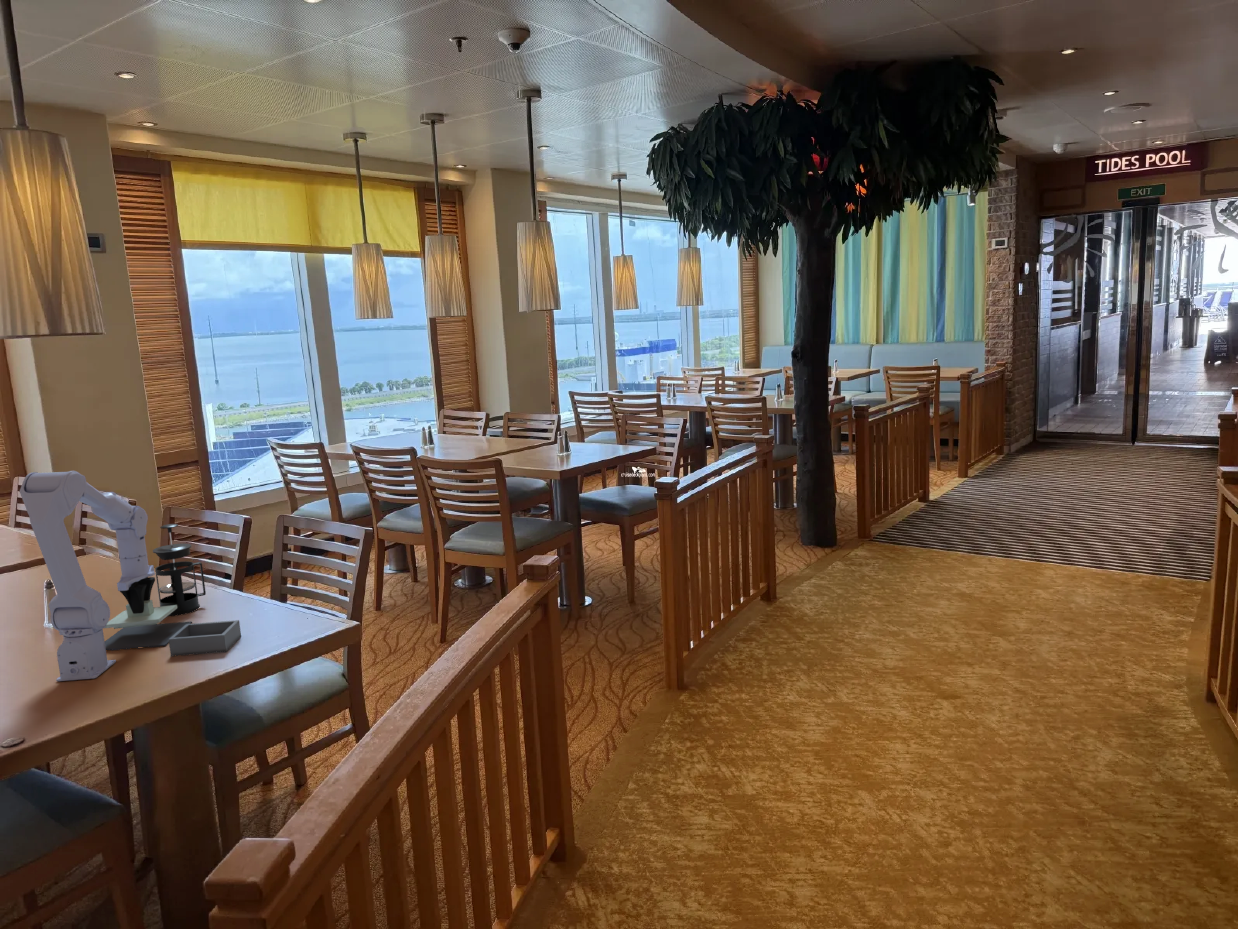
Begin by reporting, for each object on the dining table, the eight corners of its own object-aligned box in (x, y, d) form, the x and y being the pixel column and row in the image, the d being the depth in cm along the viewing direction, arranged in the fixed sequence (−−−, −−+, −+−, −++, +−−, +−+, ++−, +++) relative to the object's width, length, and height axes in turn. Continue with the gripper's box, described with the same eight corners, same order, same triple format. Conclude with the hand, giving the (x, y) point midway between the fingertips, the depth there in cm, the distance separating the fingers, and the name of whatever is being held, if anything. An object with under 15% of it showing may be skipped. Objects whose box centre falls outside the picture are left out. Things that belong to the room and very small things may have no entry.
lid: (159, 625, 200) (156, 606, 199) (104, 631, 199) (101, 612, 198) (178, 611, 210) (174, 593, 209) (125, 616, 209) (122, 598, 208)
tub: (226, 652, 192) (224, 635, 192) (170, 656, 191) (168, 639, 191) (241, 636, 202) (239, 620, 202) (188, 640, 201) (186, 624, 200)
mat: (165, 646, 198) (165, 644, 198) (92, 651, 196) (92, 650, 196) (192, 623, 214) (192, 621, 213) (125, 628, 212) (125, 626, 212)
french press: (159, 619, 218) (147, 531, 214) (155, 610, 225) (143, 525, 222) (209, 609, 224) (198, 523, 220) (204, 600, 232) (193, 518, 228)
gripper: (137, 562, 195) (145, 619, 197) (163, 546, 209) (171, 600, 211) (104, 565, 194) (113, 622, 196) (133, 548, 209) (141, 602, 211)
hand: (141, 611), depth 204 cm, fingers closed on lid, 2 cm apart
